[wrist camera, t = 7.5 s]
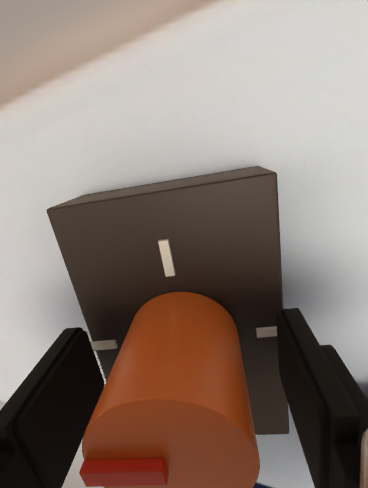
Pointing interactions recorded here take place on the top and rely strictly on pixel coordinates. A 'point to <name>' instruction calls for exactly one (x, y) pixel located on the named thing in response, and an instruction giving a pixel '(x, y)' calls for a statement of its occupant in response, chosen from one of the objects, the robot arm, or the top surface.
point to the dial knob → (174, 403)
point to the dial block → (184, 265)
